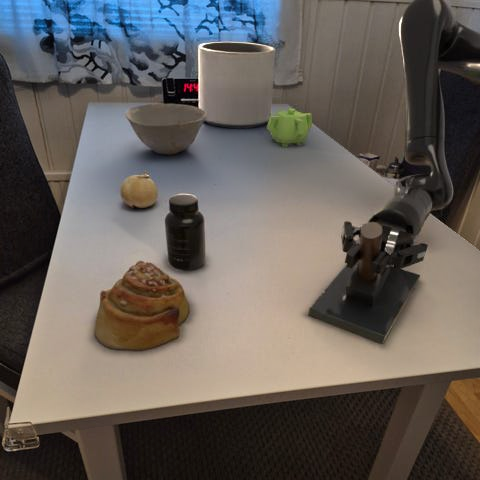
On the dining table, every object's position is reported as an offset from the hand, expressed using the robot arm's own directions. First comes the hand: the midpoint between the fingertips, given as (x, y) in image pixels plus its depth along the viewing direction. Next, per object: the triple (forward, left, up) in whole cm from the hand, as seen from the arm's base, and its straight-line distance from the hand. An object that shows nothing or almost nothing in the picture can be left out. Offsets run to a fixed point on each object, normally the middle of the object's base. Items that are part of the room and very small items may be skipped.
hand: (361, 265), depth 62 cm
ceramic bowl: (-26, -83, -11) cm, 88 cm away
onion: (+1, -56, -11) cm, 57 cm away
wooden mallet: (-7, -2, -7) cm, 10 cm away
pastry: (+23, -21, -11) cm, 33 cm away
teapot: (-60, -67, -11) cm, 91 cm away
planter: (-64, -96, -11) cm, 116 cm away
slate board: (-8, -2, -10) cm, 13 cm away
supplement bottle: (+8, -30, -11) cm, 33 cm away
